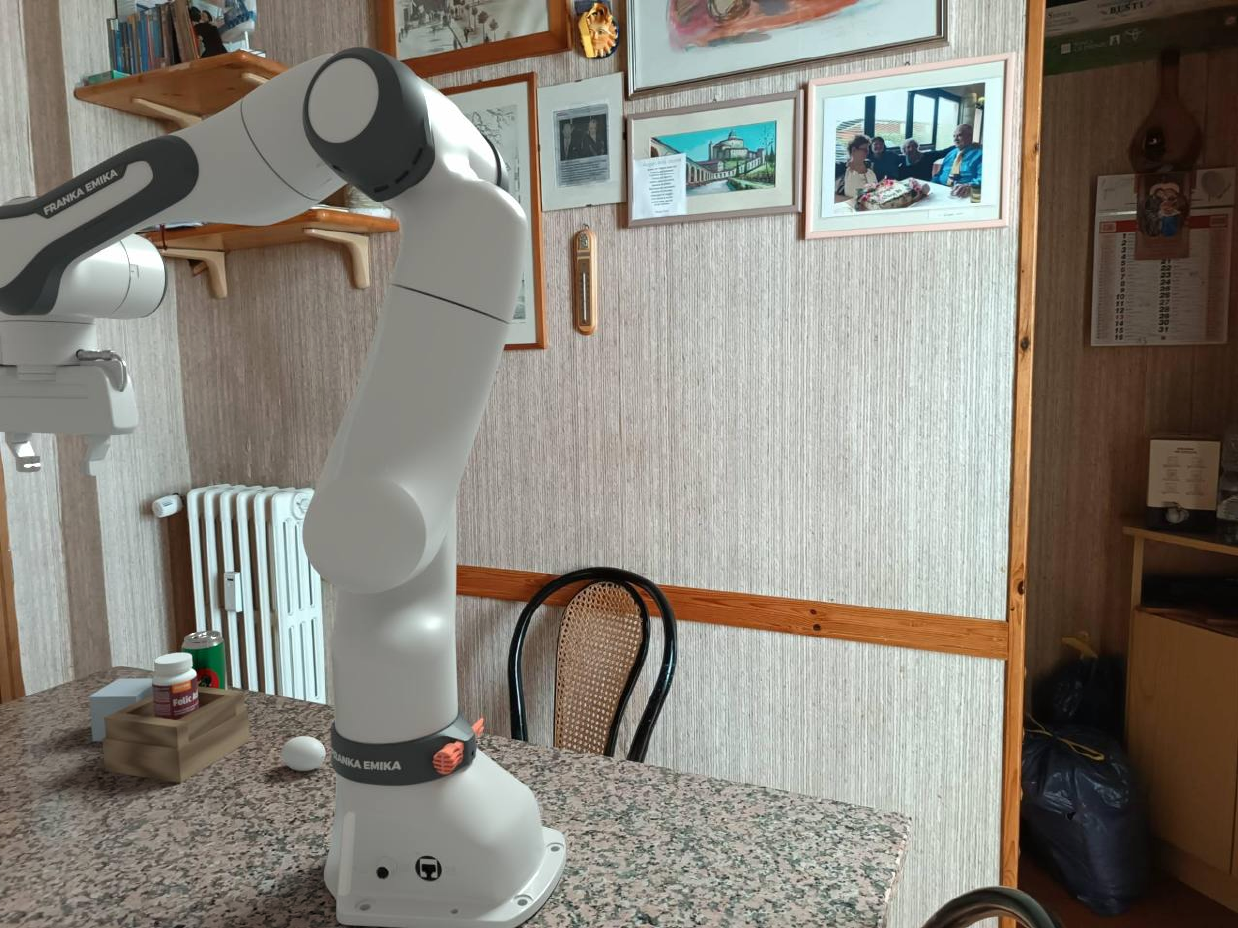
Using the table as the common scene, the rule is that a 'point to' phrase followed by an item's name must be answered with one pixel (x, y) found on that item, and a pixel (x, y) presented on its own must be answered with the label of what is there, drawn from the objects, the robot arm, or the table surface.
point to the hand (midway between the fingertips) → (60, 473)
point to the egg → (303, 753)
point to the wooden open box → (175, 736)
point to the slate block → (116, 701)
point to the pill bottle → (174, 686)
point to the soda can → (207, 658)
